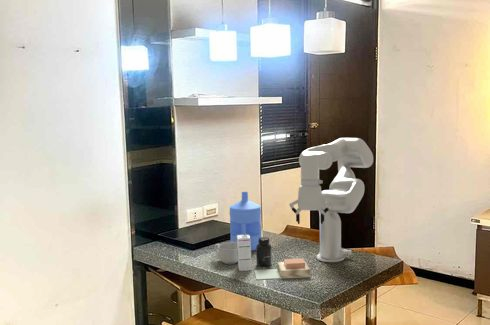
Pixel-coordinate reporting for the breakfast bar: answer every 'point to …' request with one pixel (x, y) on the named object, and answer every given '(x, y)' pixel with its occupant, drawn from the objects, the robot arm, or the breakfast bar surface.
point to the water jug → (246, 220)
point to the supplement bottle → (263, 252)
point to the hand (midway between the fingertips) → (310, 223)
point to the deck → (293, 271)
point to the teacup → (227, 252)
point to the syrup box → (244, 252)
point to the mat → (269, 274)
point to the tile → (294, 263)
